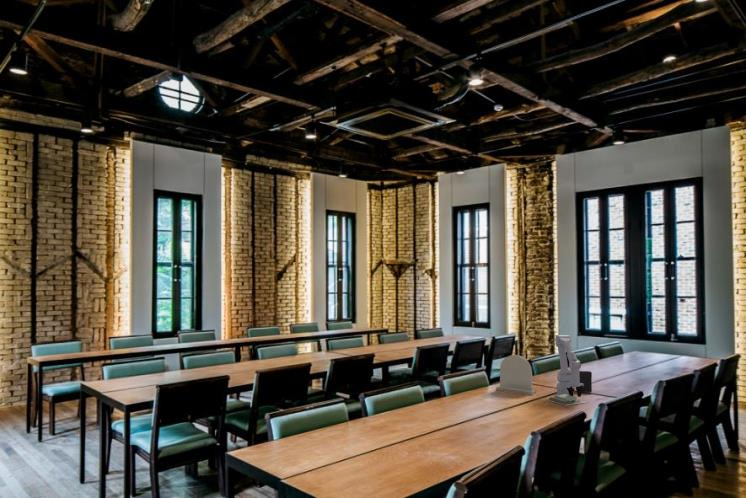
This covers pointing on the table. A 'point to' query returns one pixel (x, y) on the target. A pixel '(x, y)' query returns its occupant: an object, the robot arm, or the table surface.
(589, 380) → the calculator
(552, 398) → the dock
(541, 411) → the table surface
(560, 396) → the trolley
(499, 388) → the award
